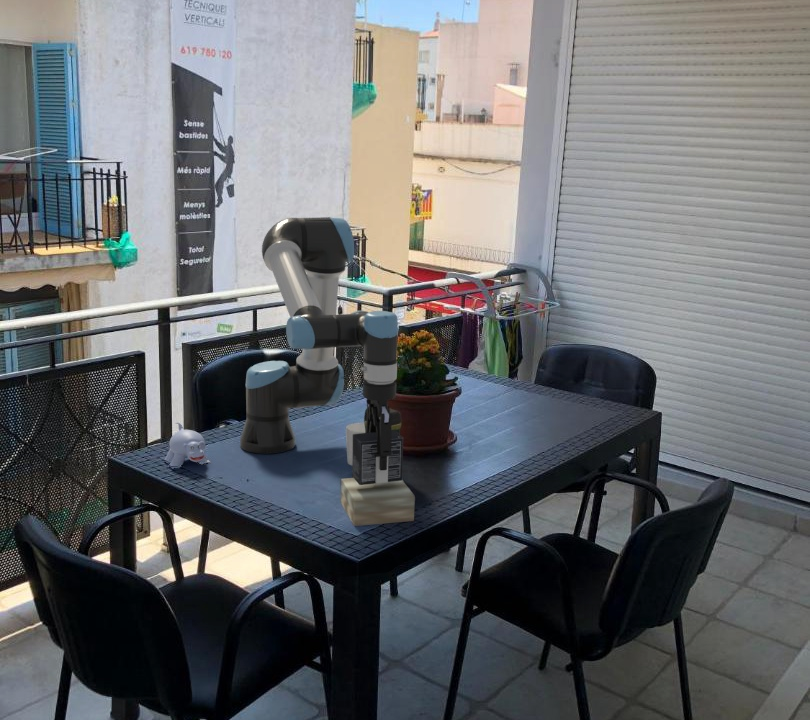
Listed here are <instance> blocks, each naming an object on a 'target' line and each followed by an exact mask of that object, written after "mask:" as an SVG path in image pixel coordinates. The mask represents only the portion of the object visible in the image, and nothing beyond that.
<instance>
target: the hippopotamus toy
mask: <svg viewBox="0 0 810 720" xmlns="http://www.w3.org/2000/svg"><path fill="white" fill-rule="evenodd" d="M175 424H178V431H176V432H175V433H174V434H173V435H172V436H171V438H170V440H169V443H168V444H169V450H168V452H167V454H166V457H165V458H164V460H167V461H171V463H170V464H169V465H171V466H180V465H183V464H184V462H185V460H186V459H189V460H190V461H191V462H194V463H197V462H199V463H200V462H201V463H202V462H203V463H205V462H210V463H211V461H210V460H209V459H208V457H207V455H206V454H205V451H204V450H205V448H206V440H205V438H204V437H203V436H202V434H200V433H199V432H197V431H195V430H191V429H184V427H183V425H182V424H181V422H175Z"/></svg>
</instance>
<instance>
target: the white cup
mask: <svg viewBox="0 0 810 720" xmlns="http://www.w3.org/2000/svg"><path fill="white" fill-rule="evenodd" d="M361 433H365V424H364V422H355V423H350V424H347V425H346V426H345V436H346V437H345V438H346V439H345V442H346V454H347V458H346V459H347V460H346V461H347V464H348V465H350V466H351V467H352V461H353V460H352V459H353V434H361Z"/></svg>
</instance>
